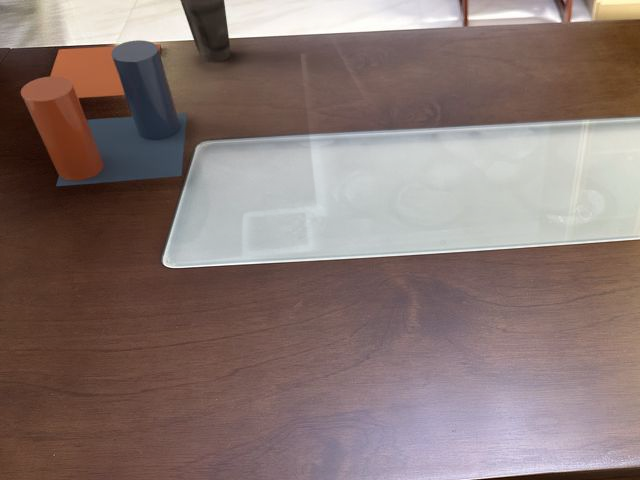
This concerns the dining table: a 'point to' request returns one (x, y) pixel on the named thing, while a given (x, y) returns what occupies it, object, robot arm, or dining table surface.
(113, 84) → the terracotta mat
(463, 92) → the dining table surface
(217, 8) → the beverage cup
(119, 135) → the blue mat
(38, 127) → the orange cylinder
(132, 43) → the navy blue cylinder
